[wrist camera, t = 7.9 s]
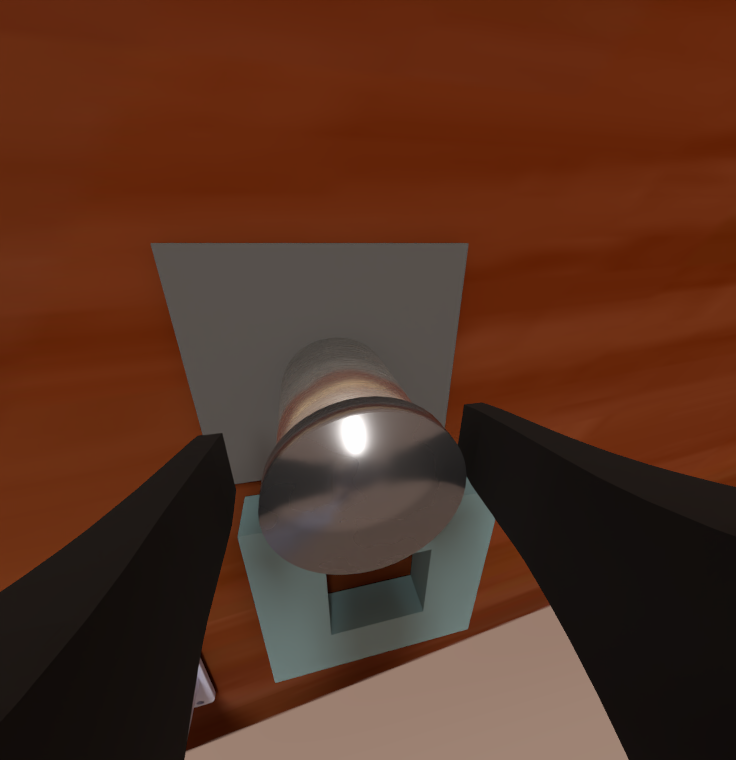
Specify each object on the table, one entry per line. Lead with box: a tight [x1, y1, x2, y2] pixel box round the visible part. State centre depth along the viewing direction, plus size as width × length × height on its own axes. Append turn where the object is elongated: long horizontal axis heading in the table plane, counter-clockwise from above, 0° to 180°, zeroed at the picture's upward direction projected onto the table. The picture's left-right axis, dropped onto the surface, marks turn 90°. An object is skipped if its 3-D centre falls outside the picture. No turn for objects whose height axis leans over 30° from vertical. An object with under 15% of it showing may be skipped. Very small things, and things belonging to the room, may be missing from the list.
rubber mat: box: [151, 243, 468, 484], centre depth 14 cm, size 12×11×1 cm
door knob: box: [258, 338, 467, 575], centre depth 11 cm, size 6×6×7 cm
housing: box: [238, 477, 495, 683], centre depth 20 cm, size 14×14×2 cm
